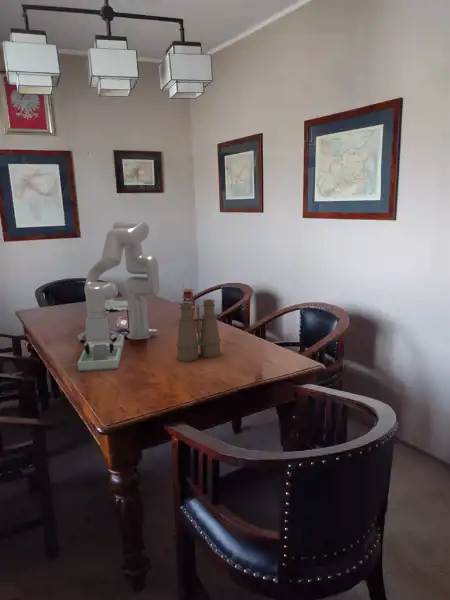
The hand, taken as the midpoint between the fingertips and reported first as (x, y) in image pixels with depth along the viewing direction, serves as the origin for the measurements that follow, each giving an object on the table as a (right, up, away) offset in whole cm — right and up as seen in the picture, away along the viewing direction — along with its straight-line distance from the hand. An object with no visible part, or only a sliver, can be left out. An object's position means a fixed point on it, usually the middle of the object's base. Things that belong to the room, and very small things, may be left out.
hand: (99, 353), depth 190 cm
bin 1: (-3, 0, +20) cm, 21 cm away
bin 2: (0, -5, +1) cm, 5 cm away
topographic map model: (-18, +18, +107) cm, 109 cm away
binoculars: (+42, -2, +9) cm, 43 cm away
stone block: (0, -4, +1) cm, 4 cm away
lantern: (+34, +8, +57) cm, 67 cm away
